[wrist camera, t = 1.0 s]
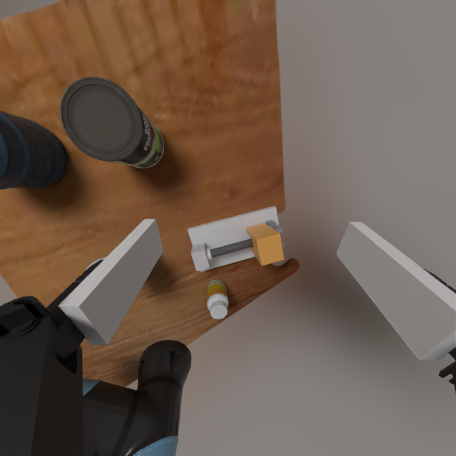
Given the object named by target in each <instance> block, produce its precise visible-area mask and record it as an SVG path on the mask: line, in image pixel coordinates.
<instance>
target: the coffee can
mask: <svg viewBox="0 0 456 456" xmlns="http://www.w3.org/2000/svg"><path fill="white" fill-rule="evenodd" d="M60 118H61V122H62V126H63V128H64V130H65V132H66V134H67V136H68V137H69V139H70V140H71V141H72V142H73V144H74V145H75V146H76V147H77V148H79V149H80V150H81V151H82V152H84V153H85V154H87V155H89V156H91V157H93V158H95V159H98V160H102V161H110V162H115V163H120V164H125V165H129V166H133V167H136V168H150V167H152V166H154V165H156V164H157V163H158V162H159V161H160V159H161V158H162V155H163V152H164V141H163V137H162V135H161V133H160V131H159V130H158V128H157V127H156V126H155V125H154V124H153V123H152V122H151V121H150V120H149V119H148V117H147V116H146V115H145V114H144V113H143V112H142V111H141V109H140V108H139V107H138V106H137V105H136V103H135V102H134V100H133V99H132V98H131V96H130V95H129V94H128V93H127V92H126V91H125V90H124V89H123V88H121V87H120V86H119V85H117V84H116V83H114V82H112V81H110V80H108V79H105V78H101V77H92V76H90V77H84V78H80V79H78V80H76V81H74V82H73V83H71V84H70V85H69V86H68V87H67V89H66V90H65V91H64V93H63V95H62V98H61V102H60Z"/></svg>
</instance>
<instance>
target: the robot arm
mask: <svg viewBox="0 0 456 456" xmlns="http://www.w3.org/2000/svg"><path fill="white" fill-rule="evenodd" d="M163 251H164V250H163V246H162V242H161V239H160V235H159V231H158V227H157V223H156V219H144V220H143V221H142V222H141V223H140V224H139V225H138V226H137V227H136V228H135V229H134V230H133V231H132V232H131V233H130V234H129V235H128V236H127V237H126V238H125V239H124V240H123V241H122V242H121V243H120V244H119V245H118V246H117V247H116V248H115V249H114V250H113V251H112V252H111V253H110V254H109V255H108V256H107V257H106V258H105V259H104V260H99V261H98V262H96V263H95V264H93V265H91V266H90V267H89V268H88V269H87V270H86V271H85V272H84V273H83V274H82V276H79V277H78V278H77V279H76V280H75V282H73V283H72V284H71V285H70V286H69V287H68V288H67V289H66V290H65V291H64V292H63V293H61V294H60V295H59V296H58V297H57V298H56V299H55V300H54V301H53V302H52V303H51V304H50V305H49V306H48V307H47V308H45V307H44V306H43V305H42V304H41V302H40V301H39V300H38V299H37V298H35V297H33V296H26V297H21V298H18V299H14V300H12V301H10V302H8V303H6V304H3V305H2V306H0V456H175V454H176V447H177V443H178V430H179V419H180V409H181V399H182V389H183V386H184V383H185V381H186V378H187V375H188V372H189V370H190V366H191V353H190V351H189V349H188V348H187V347H186V346H185V345H184V344H182V343H180V342H177V341H170V340H166V341H160V342H157V343H154V344H152V345H150V346H149V347H148V348H147V349H146V350H145V351H144V352H143V354H142V356H141V359H140V362H139V367H138V388H137V390H133V389H129V388H125V387H122V386H118V385H114V384H111V383H107V382H103V381H102V380H93V379H88V378H83V370H82V349H81V346H80V344H81V342H82V341H83V339H84V338H86V339H87V340H88V341H89V343H90V344H95V345H108V344H109V342H110V340H111V339H112V337H113V335H114V334H115V332H116V330H117V328H118V327H119V325H120V323H121V322H122V320H123V318H124V317H125V315H126V313H127V312H128V310H129V308H130V307H131V305H132V303H133V301H134V300H135V298H136V296H137V295H138V293H139V291H140V290H141V288H142V286H143V285H144V283H145V281H146V279H147V278H148V276H149V274H150V273H151V271H152V269H153V268H154V266H155V264H156V263H157V261H158V259H159V258H160V256H161V254H162V252H163ZM337 256H338V257H339V259H340V260H341V261H342V262H343V263H344V265H345V266H346V268H347V269H348V270H349V271H350V273H351V274H352V275H353V276H354V278H355V279H356V280H357V282H358V283H359V284H360V285H361V286H362V288H363V289H364V290H365V292H366V293H367V294H368V296H369V297H370V298H371V299H372V301H373V302H374V303H375V304H376V306H377V307H378V308H379V310H380V311H381V312H382V313H383V315H384V316H385V317H386V319H387V320H388V321H389V322H390V324H391V325H392V326H393V327H394V329H395V330H396V331H397V333H398V334H399V335H400V336H401V338H402V339H403V340H404V342H405V343H406V344H407V345H408V347H409V348H410V349H411V350H412V352H413V353H414V354H415V356H416V357H417V358H418V359H419V360H440V359H441V358H442V357H444V356H445V355H447V354H448V353H450V355H451V356H452V357H453V358H454V359H455V360H456V290H455V289H453V288H452V287H450V286H447V284H446V283H445V282H444V281H442V280H441V279H440V278H438V277H437V276H435V275H434V274H432V273H430V272H429V271H427V270H425V269H423V268H421V267H420V266H418V265H417V264H416V263H414V262H413V261H412V260H411V259H409V258H408V257H407V256H405V255H404V254H402V253H401V252H400V251H399V250H397V249H396V248H395V247H393V246H392V245H391V244H390V243H388V242H387V241H386V240H384V239H383V238H382V237H380V236H379V235H378V234H376V233H375V232H374V231H372V230H371V229H370V228H368V227H367V226H366V225H365V224H363V223H362V222H350V223H349V225H348V228H347V230H346V232H345V235H344V237H343V239H342V242H341V244H340V247H339V249H338V251H337ZM449 374H453V378H452V379H451V380H449V382H450V383H452V384H454V386H455V391H456V361H455V362H454V363H452V364H451V365H449V366H447V367H446V368H444V369H443V370H441V371H440V373H439V376H440V377H442V378H444V377H446V376H447V375H449Z"/></svg>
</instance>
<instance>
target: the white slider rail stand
mask: <svg viewBox="0 0 456 456" xmlns="http://www.w3.org/2000/svg"><path fill="white" fill-rule="evenodd" d="M262 223H265V224H267V225H268V226H270V227H271V228H273V229H274V230H276V231H277V232H279V233H282V232H283V231H282V228H281V227H280V226H279V224H278V218H277V210H276V207H275V206H272V207H269V208H265V209H261V210H257V211H253V212H249V213H245V214H242V215H238V216H234V217H230V218H226V219H222V220H218V221H215V222H211V223H207V224H203V225H199V226H195V227H191V228H188V233H189V236H190V239H191V242H192V245H193V246H192V251H191V255H192V258H193V261H194V264H195V267H196V270H197V271H199V270H201V272H202V271H205V270H209V269H212V268H216V267H220V266H223V265H227V264H230V263H234V262H237V261H241V260H245V259H248V258H252V257H255V256H254V254H253V253H252V251H251V250H250V247H253V243H252V238H251V237H250V236H249V235H248V234H247V232H246V228H247V227H251V226H254V225H258V224H262ZM280 236H281V235H280ZM281 243H282V248H283V247H285V245H284V242H283V241H282V240H281Z"/></svg>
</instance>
